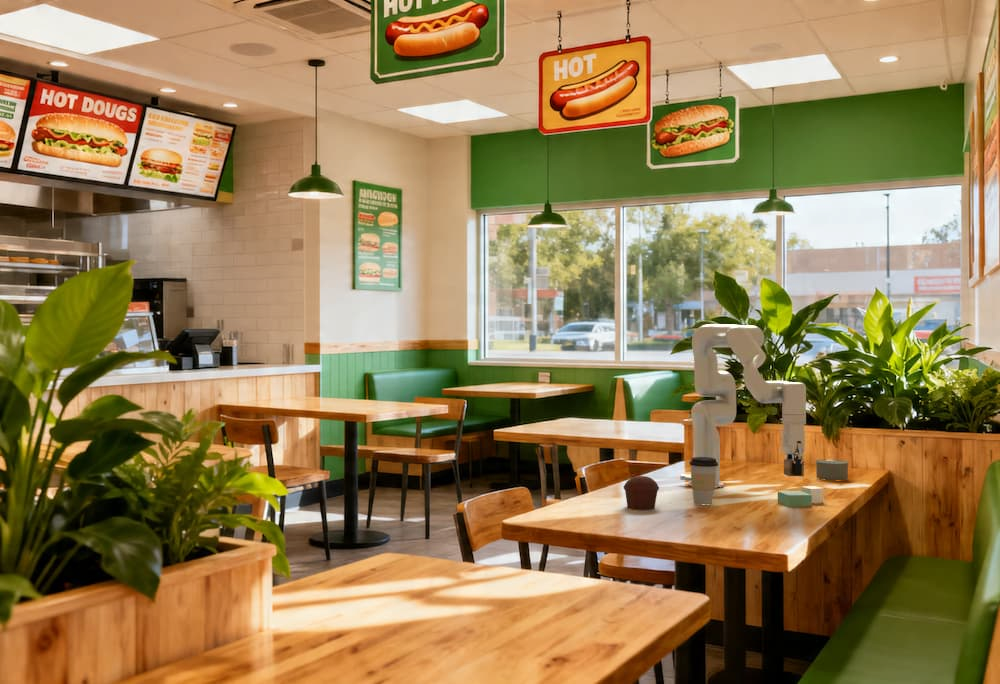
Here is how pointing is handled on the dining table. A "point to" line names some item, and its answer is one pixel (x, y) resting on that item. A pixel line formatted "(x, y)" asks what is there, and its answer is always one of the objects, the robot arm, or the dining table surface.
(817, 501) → the cream cube
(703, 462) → the coffee cup
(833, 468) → the can
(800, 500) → the green base
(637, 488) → the muffin
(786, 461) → the walnut cube
